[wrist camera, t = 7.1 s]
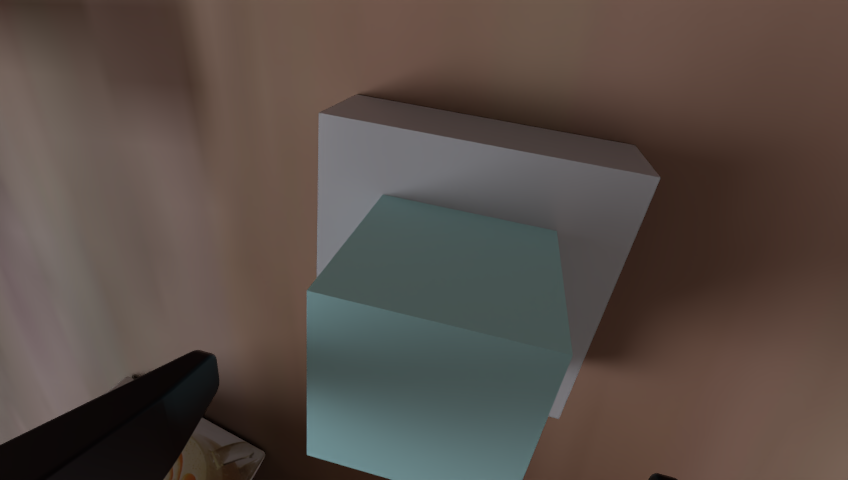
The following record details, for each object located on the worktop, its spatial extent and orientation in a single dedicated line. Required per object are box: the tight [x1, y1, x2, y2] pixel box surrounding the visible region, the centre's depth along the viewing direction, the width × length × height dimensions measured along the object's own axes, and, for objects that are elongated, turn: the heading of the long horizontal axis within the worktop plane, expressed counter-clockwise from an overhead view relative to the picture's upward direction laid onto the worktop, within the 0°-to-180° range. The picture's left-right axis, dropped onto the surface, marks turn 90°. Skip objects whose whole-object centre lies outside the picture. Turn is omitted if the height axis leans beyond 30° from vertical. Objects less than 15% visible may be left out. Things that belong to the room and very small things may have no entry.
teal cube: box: [307, 195, 573, 480], centre depth 11 cm, size 5×5×5 cm
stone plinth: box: [317, 94, 661, 419], centre depth 15 cm, size 9×9×3 cm
